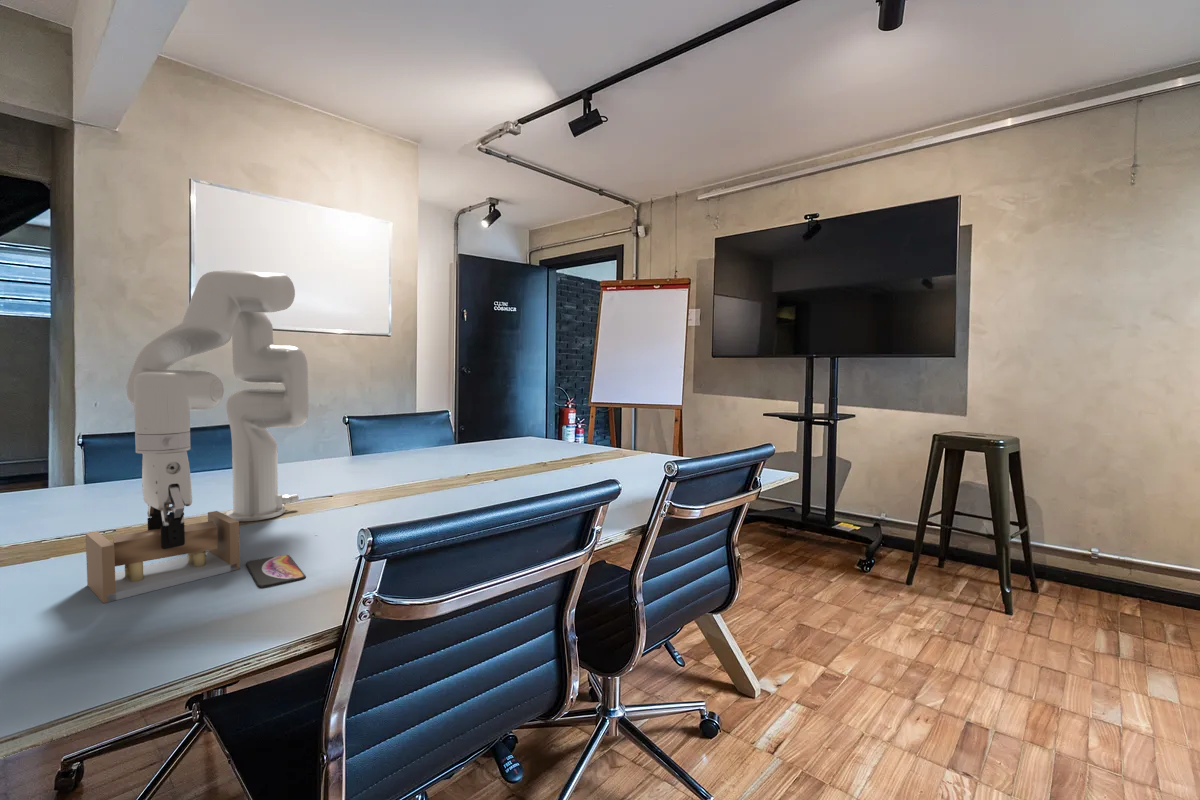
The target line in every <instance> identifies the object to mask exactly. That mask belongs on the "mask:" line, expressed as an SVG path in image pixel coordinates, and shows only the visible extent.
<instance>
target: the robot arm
mask: <svg viewBox="0 0 1200 800" xmlns="http://www.w3.org/2000/svg"><path fill="white" fill-rule="evenodd" d="M295 291H296V290H295V286H294V282H293V281H292V279H291V278H290V276H288V274H287V275H286V274H285V273H280V272H267V271H266V272H264V271H263V272H262V271H252V270H251V271H249V270H232V269H231V270H215V271H214V270H213V271H209V272H206V273H204V274H202V276H201V277H200V278H199V279H198V281H197V283H196V286H195V288H194V291H193V294H192V296H191V298H190V302H189V304H188V306H187V308H186V311H185V314H184V316H183V318H182V321H181V322H180V324H178V325H175V326H174V327H172V328H170V329H167V330H166V331H165V332H163V333H162V334H159V336H157V337H156V338H154V339H153V340H152V341H150V342H148V343H147V344H146V345H145V346H144V347H143V348H142V349H141V351H140V352H139V353H138V355H137V357H136V358H135V361H134V363H133V365H132V368H131V369H130V370H131V371H130V373H129V375H128V379H127V383H126V397H127V398H128V400H129V403H130V404H132V405H133V406H134V407H133V408H134V440H135V443H134V444H135V453H136V454H142V460H141V463H142V465H141V468H142V469H141V473H142V475H141V485H142V488H141V489H142V497H143V498H142V499H143V501H144V503H146V504H147V506H148V507H147V519H146V520H147V530H154V529H161V548H162V549H168V548H173V547H178V546H183V545H184V544H185V530H184V525H185V517H184V516H185V513H184V512H185V507H190V506H191V505H192V503H193V492H192V481H191V480H192V478H191V470H190V461H189V457H188V451H191V447H192V446H191V416H190V415H191V414H190V413H191V411H206V410H210V409H213V408H215V407H216V406H217V405H219V404H220V402H221V401H222V398H223V396H224V392H225V390H224V389H225V388H224V384H223V382H222V380H221V378H219V377H218V375H216V374H215V373H212V372H209V371H206V370H182V369H179V370H178V369H175V370H174V369H169V368H170V367H171V366H174V364H176V363H178V362H181V361H183V360H185V359H187V358H191V357H193V356H196V355H200V354H205V353H207V352H209V351H212V350H215V349H218V348H220V347H222V346H225V345H226V344H228V343H229V342H230V340H231V343H232V344H231V345H232V347H231V349H232V368H233V375H234V376H235V378H236V379H237V380H238V381H239V382H242V383H245V384H246V383H247V384H259V385H260V384H264V385H265V384H267V385H268V384H269V385H270V384H272V385H273V384H274V385H275V384H276V385H283V386H284V389H279V388H278V389H273V388H272V389H271V388H246V389H240V390H236V391H234V392H232V393H231V394H230V395H229V396H228V398H227V401H226V405H225V406H226V407H225V409H226V415H227V418H228V419H227V420H228V423H229V428H230V435H231V458H232V459H231V460H232V462H231V464H232V466H231V467H232V506H233V508H232V509H231V510H228V511H226V512H225V515H227V516H229V517H231V518H233V519H235V520H237V521H239V522H255V521H262V520H268V519H273V518H277V517H279V516H281V515H283V514H284V513H286V507H285V505H286V504H288V503H290V504H291V503H297V502H299V495H298V494H290V495H289V494H280V493H279V480H278V479H279V477H278V475H279V472H278V469H279V468H278V443H277V440H276V438H275V437H274V436H273V435H272V433H270V431H269V430H268V428H298V427H301V426H303V425H304V424H306V422H307V420H308V416H309V368H308V360H307V357H306V354H305V353H304V351H303V350H302V349H301V348H299V347H297V346H293V345H275V343H274V332H273V331H274V330H273V329H274V327H273V324H272V322H271V320H270V318H269V317H268V316H267V315H266V314H265V313H275V312H281V311H285V310H288V309H289V308H290V307H291V306H292V304H294V301H295V296H296V292H295Z"/></svg>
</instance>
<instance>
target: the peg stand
mask: <svg viewBox="0 0 1200 800" xmlns="http://www.w3.org/2000/svg"><path fill="white" fill-rule="evenodd" d="M209 521H213V522H214V524H215V525H216V527H217V549H212V550H208V551H207V550H206V551H201V552H195V553H189V554H187V556H186V555H185V556H182V557H179V558H174V559H170V560H169V559H168V560H165V561H161V562H160V561H159V562H155V563H152V564H146V565H144V561H143V562H138V563H132V564H126V565H124V569H123V570H119V571H116V566H115V553H114V544H113V542H111V541H110V540H109V539H108V538H107V537H105V536H104V535H103V534H102V533H100V531H98V530H96V531H91V532H86V533H85V553H86V554H85V557H86V558H85V559H86V584H87V586H88V587H89V589H90V590H91V591H92V592H93V593H94V594H95V596H97V598H98V599H99V600H100V601H101V602H102V603H103V604H106V603H109V602H114V601H119V600H122V599H126V598H129V597H130V598H131V597H134V596H138V595H143V594H146V593H150V592H155V591H157V590H162V589H166V588H170V587H174V586H178V585H181V584H186V583H190V582H193V581H199V580H201V579H205V578H210V577H213V576H218V575H221V574H225V573H229V572H230V573H231V572H233V571H237V570H241V566H240V565H241V563H240V562H241V561H240V559H241V558H240V552H241V551H240V550H241V549H240V521H237V520H235V519H233V518H231V517H229V516H227V515H226V514H224V513H222V512H220V511H218V510H213V511H209V512H207V522H209Z"/></svg>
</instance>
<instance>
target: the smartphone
mask: <svg viewBox="0 0 1200 800" xmlns="http://www.w3.org/2000/svg"><path fill="white" fill-rule="evenodd" d="M245 566H246V568H247V570H248V572H249V574H250V575H251V577H252V579H253V581H254V583H255V584H256V586H257V588H258V589H265V588H271V587H275V586H280V585H284V584H289V583H294V582H299V581H303V580H305V579H306V578H307V576H306V574H305V573H304V572H303V570H302V569H301V568H300V566H298V564H297V563H296V562H295V560H294V559H293V558H292V557H291V556H290V554H289V555H288V554H282V555H276V556H271V557H265V558H259V559H258V558H257V559H253V560H248V561H246V562H245Z"/></svg>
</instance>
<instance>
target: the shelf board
mask: <svg viewBox="0 0 1200 800" xmlns="http://www.w3.org/2000/svg"><path fill="white" fill-rule="evenodd" d="M184 530H185V544H184V545H183V546H178V547H173V548H168V549H162V548H161V529H154V530H148V529H147V530H143V531H135V532H129V533H127V532H126V533H121V534H114V535H112V541H113V542H112V544H114V553H115V567H120V566H125V565H126V564H132V563H138V562H143V563H144V562H149V561H154V560H160V559H161V560H162V559H166V558H171V557H178V556H184V555H188V554H189V553H195V552H201V551H206V552H207V551H209V550H212V549H217V527H216V525H215V524H214V522H213V521H209V522H208V521H204V522H198V523H197V522H196V523H190V524H184Z"/></svg>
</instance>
